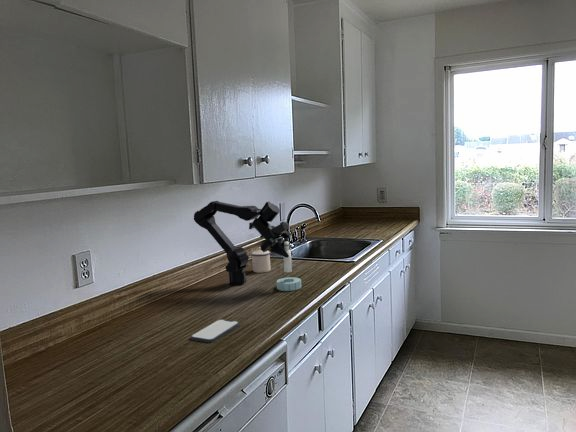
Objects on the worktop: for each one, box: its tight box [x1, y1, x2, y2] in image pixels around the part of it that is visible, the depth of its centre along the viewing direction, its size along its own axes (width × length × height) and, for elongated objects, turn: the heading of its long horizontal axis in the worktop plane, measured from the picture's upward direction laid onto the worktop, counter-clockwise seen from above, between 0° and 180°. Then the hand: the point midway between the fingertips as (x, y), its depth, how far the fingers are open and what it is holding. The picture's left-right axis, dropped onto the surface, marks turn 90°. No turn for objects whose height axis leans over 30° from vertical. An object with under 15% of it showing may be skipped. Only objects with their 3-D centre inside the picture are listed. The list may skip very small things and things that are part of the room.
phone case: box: [190, 319, 240, 344], centre depth 153 cm, size 9×2×16 cm
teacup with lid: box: [247, 246, 271, 274], centre depth 232 cm, size 12×9×12 cm
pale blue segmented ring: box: [276, 276, 302, 292], centre depth 199 cm, size 10×10×3 cm
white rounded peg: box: [282, 241, 293, 273], centre depth 198 cm, size 3×3×12 cm
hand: (290, 256), depth 197 cm, fingers closed on white rounded peg, 3 cm apart
